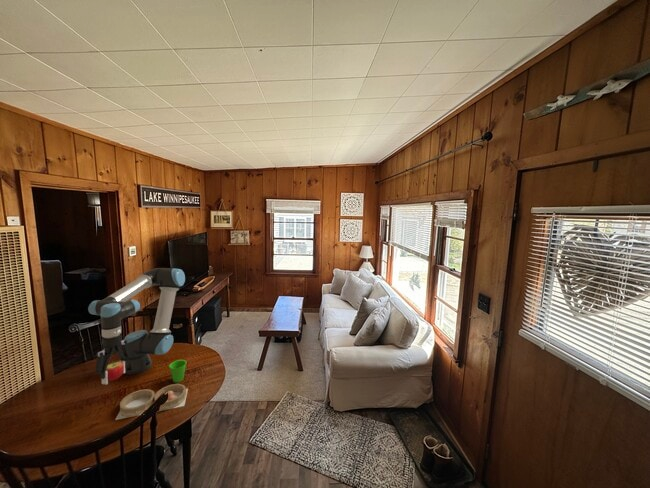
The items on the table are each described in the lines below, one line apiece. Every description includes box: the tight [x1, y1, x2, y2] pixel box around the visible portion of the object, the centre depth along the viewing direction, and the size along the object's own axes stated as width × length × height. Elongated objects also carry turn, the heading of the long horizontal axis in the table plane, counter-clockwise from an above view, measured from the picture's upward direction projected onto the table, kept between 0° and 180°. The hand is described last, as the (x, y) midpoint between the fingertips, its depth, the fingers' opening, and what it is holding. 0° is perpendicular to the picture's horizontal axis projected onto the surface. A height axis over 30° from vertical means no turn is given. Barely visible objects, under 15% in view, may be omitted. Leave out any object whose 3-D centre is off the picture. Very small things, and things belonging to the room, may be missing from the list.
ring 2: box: [154, 383, 187, 411], centre depth 135 cm, size 14×14×4 cm
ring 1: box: [119, 388, 156, 418], centre depth 130 cm, size 14×14×4 cm
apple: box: [106, 358, 124, 382], centre depth 129 cm, size 8×8×10 cm
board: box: [114, 388, 189, 421], centre depth 133 cm, size 29×14×1 cm, turn 111°
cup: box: [168, 359, 188, 384], centre depth 152 cm, size 9×9×11 cm
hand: (113, 378), depth 129 cm, fingers closed on apple, 8 cm apart
